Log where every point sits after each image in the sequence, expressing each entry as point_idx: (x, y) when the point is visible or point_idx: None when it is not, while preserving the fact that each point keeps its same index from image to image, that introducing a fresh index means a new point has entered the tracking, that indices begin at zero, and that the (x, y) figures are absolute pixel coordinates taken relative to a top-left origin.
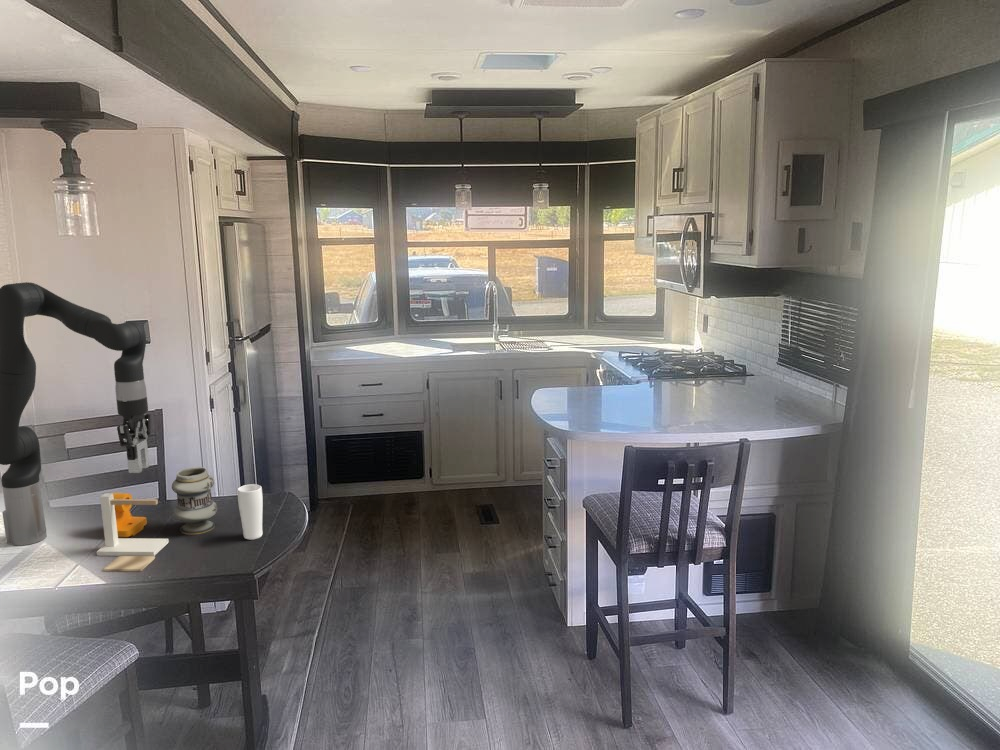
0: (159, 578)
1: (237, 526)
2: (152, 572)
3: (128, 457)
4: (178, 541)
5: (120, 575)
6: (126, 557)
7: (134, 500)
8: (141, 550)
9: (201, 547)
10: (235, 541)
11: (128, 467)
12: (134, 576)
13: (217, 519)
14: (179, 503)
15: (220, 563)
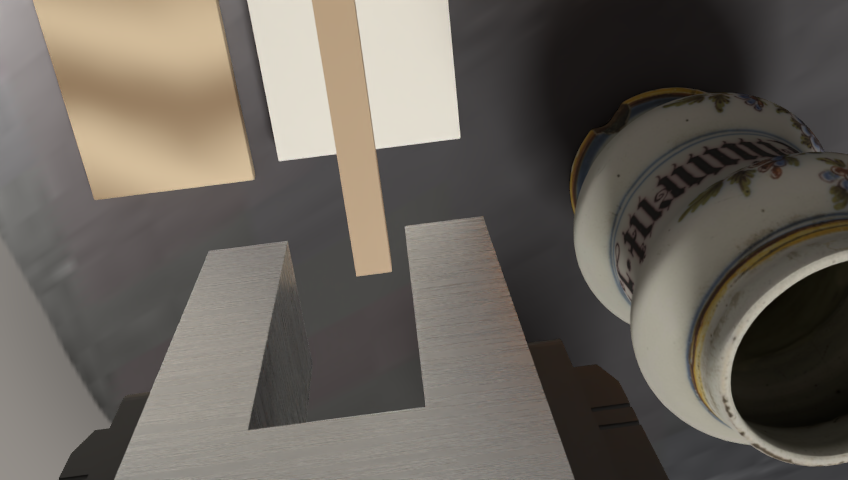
0: (63, 319)
1: None
2: (107, 254)
3: (84, 459)
4: (478, 174)
5: (25, 119)
6: (202, 32)
7: (332, 102)
8: (281, 82)
9: None
10: None
11: (197, 288)
12: (41, 196)
13: None
14: (653, 197)
15: None
